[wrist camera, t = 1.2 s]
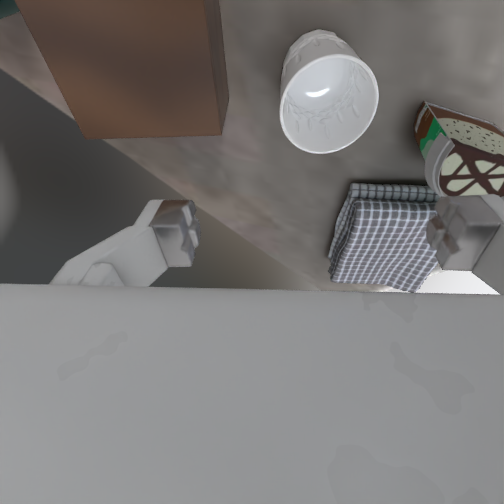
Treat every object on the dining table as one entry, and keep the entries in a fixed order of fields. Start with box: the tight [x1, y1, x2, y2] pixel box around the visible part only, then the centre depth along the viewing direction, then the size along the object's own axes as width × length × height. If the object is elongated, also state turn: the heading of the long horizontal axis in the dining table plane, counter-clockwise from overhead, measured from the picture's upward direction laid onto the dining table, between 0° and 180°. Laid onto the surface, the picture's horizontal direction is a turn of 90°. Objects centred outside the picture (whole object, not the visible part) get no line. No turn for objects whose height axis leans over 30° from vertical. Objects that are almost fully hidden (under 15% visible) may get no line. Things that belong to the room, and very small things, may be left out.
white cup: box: [280, 29, 379, 154], centre depth 27 cm, size 8×8×10 cm
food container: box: [414, 101, 504, 201], centre depth 32 cm, size 12×6×10 cm, turn 75°
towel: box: [328, 183, 440, 293], centre depth 44 cm, size 15×18×8 cm
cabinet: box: [15, 0, 229, 139], centre depth 26 cm, size 13×13×8 cm
